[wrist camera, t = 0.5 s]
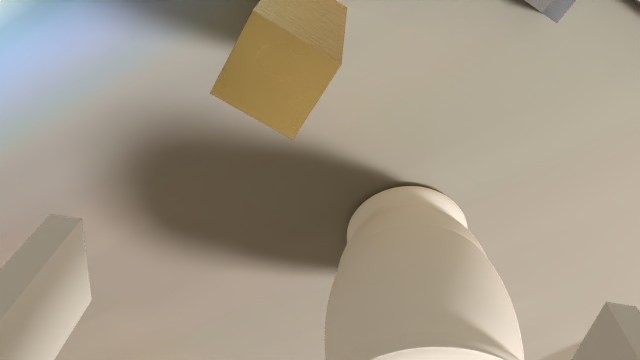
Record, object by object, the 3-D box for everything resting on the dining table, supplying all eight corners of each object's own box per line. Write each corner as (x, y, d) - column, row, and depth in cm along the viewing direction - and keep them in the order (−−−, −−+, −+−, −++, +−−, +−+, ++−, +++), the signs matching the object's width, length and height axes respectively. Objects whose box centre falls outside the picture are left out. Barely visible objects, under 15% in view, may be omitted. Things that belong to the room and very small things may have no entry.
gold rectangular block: (252, 30, 30) (209, 93, 21) (285, -32, 28) (252, 9, 20) (311, 66, 31) (292, 139, 22) (347, 7, 29) (341, 64, 20)
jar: (443, 144, 33) (497, 317, 20) (504, 255, 37) (580, 456, 24) (305, 210, 36) (275, 394, 24) (374, 305, 41) (381, 505, 28)
